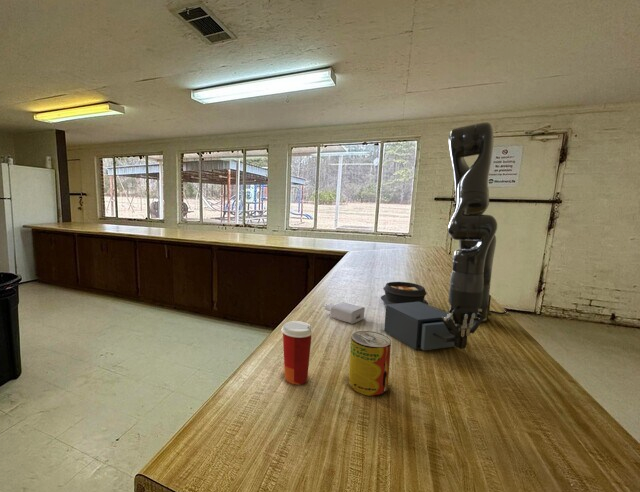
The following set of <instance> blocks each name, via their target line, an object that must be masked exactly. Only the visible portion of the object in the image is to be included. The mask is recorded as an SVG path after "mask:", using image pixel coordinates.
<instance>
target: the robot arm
mask: <svg viewBox="0 0 640 492" xmlns="http://www.w3.org/2000/svg"><path fill="white" fill-rule="evenodd" d="M448 147H449V154H450V159H451V165H452V171H453V177H454V192H455V204H456V205H455V209H454V212H453V214H452V217H451V218H450V221H449V223H448V226H447V233H448V235H449V236H450V238H451V239H453V240H455V241H458V247H459V248H458V249H456V250H455V251H454V253H453V257H452V270H451V274H450V279H449V290H448V303H449V304H450V307H449V309H448V313H449V314H448V315H447V316H446V317H445V316H442V317H441V320H442V321H443V323H444V324H445V326H446V327H447V329H448V331H449V332H451V333H453V334H455V339H454V345H455V346H454V347H455V348H457V349H459V350H464V349H466V348H467V344H468V337H469V336H470V334H475V333H476V332H477V329H478V328H479V327H480V325H481V324H482V323H486V322H487V321H488V320H489V316H490V313H492V314H496V315H506V314H507V312H508V311H509V310H508V309H507V308H504V311H501V312H500V311H496V310H495V311H494V310H491V296H492V295H491V294H490V290H491V282H492V272H493V264H494V256H495V251H496V246H497V236H496V233H497V232H498V231H497V230H498V221H497V219H496V218H495V217H494V215H490V214H484V213H485V212H486V211H487V209H488V207H489V205H490V189H489V176H490V169H491V166H492V165H491V164H492V157H493V150H494V128H493V126H492V124H491V123H490V122H487V121H484V122H479V123H475V124H469V125H464V126H460V127H455V128H453V129H451V130H450V132H449V135H448ZM474 156H477V158H476V159H475V160H474V162H473V163H472V165H470V166H469V165H468V163H467V162H466V159H465V158H467V157H474ZM505 311H506V312H505Z"/></svg>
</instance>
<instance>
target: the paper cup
mask: <svg viewBox="0 0 640 492" xmlns="http://www.w3.org/2000/svg"><path fill="white" fill-rule="evenodd" d="M280 331H281V332H282V341H283V342H282V344H283V347H282V348H283V365H284V366H283V369H284V379H285V381H286V382H287V383H289V384H292V385H297V386H298V385H299V386H300V385H304V384H306V383H307V382H308V376H309V365H310V357H311V355H310V354H311V348H312V347H311V346H312V335H313V334H314V330H313V329H312V325H310V323H307V322H305V321H300V320H291V321H287V322H285V323H284V324H283V325H282V327H281V328H280Z"/></svg>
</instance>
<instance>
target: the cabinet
mask: <svg viewBox="0 0 640 492" xmlns="http://www.w3.org/2000/svg"><path fill="white" fill-rule="evenodd" d="M384 312H385V314H384V327H383V328H384V329H383V330H384V332H385V333H386V334H388V335H390V336H391V337H393V338H395V339H396V340H398V341H400V342H402V343H403V344H405V345H406V346H408V347H410V348H411V349H413V350H414V351H419V350H420V351H421V350H422V349H421V345H420V346H419V345H418V342H419V330H420V322H425V321H434V320H441V317H442V316H445V317H446V316H447V315H448V314H449V312H447V311H444V310H441V309H439V308H437V307H434V306H431V305H429V304H428V305H427V304H424V303H422V302H409V303H397V304H386V305H385V311H384Z"/></svg>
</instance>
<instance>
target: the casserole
mask: <svg viewBox="0 0 640 492" xmlns="http://www.w3.org/2000/svg"><path fill="white" fill-rule="evenodd" d="M382 289H383V291H384V294H382V295H381V296H380V300H381V301H382V302H383V303H384V305H385V306H386V304H397V303H409V302H422V303H424V304H427V305H429V302H428V301H427V300H426V299H425V297H426V296H427V295H428V292H427V291H426V288H425V287H424V286H422V285H420V284H417V283H412V282H407V281H390V282H386V283H385V286H383V288H382Z"/></svg>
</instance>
